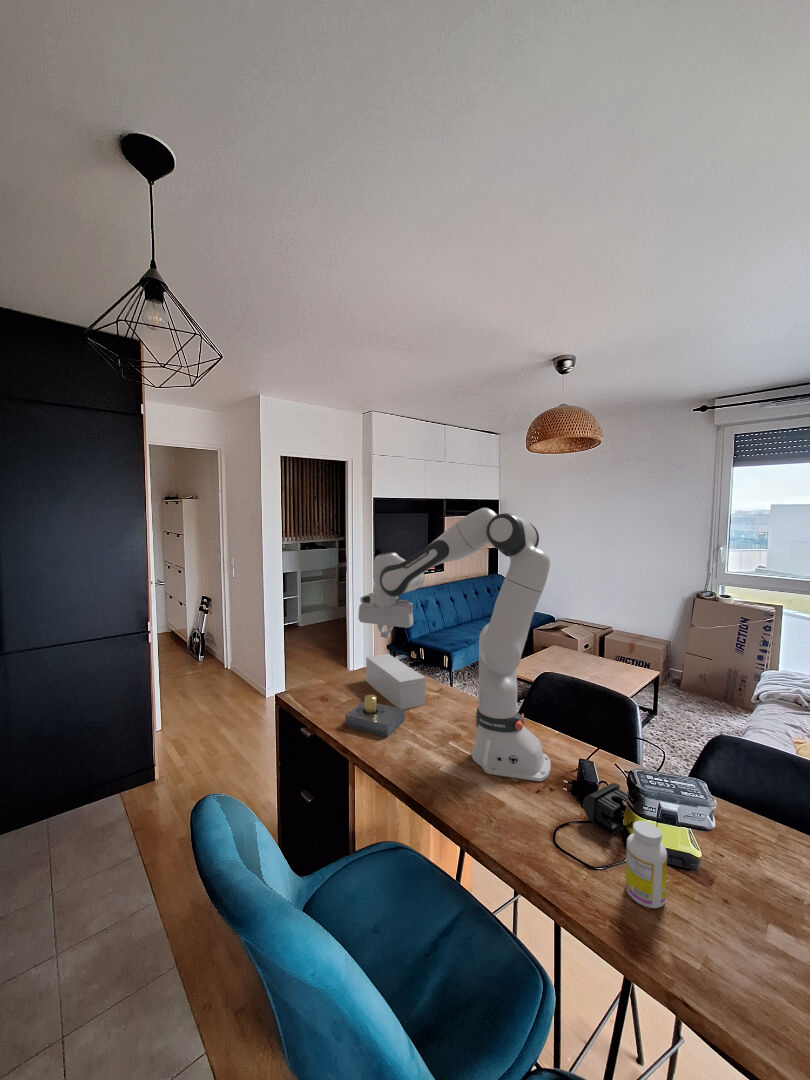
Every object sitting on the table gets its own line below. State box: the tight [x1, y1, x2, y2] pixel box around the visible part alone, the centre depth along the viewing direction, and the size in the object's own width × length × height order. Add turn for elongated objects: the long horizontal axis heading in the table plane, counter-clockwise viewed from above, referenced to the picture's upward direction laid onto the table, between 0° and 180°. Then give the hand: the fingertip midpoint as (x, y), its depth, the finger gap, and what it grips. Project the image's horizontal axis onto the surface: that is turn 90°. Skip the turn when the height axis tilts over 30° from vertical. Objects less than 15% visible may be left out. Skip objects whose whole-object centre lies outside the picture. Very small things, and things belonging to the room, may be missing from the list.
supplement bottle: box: [625, 820, 668, 909], centre depth 82 cm, size 7×7×13 cm
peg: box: [364, 694, 377, 715], centre depth 149 cm, size 4×4×8 cm
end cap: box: [582, 782, 629, 836], centre depth 103 cm, size 10×7×7 cm
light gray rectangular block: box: [365, 653, 426, 710], centre depth 176 cm, size 32×11×11 cm, turn 28°
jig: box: [344, 700, 406, 738], centre depth 149 cm, size 16×13×4 cm
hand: (385, 637), depth 154 cm, fingers closed
